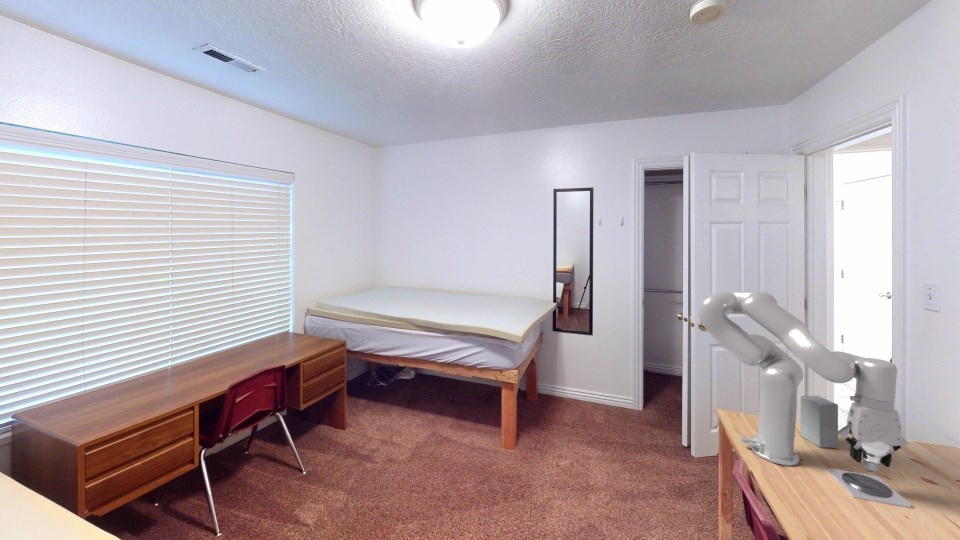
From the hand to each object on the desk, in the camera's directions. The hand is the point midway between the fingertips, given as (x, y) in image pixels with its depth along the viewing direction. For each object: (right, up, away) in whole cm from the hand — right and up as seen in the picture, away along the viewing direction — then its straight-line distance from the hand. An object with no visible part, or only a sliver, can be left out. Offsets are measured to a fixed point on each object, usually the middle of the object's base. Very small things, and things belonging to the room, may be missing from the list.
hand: (869, 461), depth 102 cm
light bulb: (0, -3, 0) cm, 3 cm away
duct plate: (0, -8, +1) cm, 8 cm away
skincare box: (+8, -7, +25) cm, 27 cm away
